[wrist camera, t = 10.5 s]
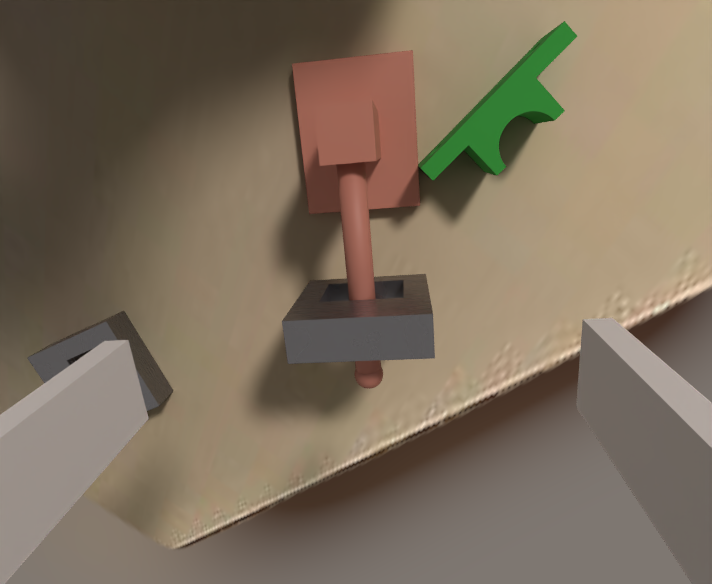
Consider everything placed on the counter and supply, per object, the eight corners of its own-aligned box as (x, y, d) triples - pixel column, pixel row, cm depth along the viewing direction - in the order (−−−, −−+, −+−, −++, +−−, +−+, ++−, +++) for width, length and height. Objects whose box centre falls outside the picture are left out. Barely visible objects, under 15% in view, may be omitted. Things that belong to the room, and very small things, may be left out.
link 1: (48, 345, 40) (27, 357, 38) (123, 310, 39) (105, 321, 36) (99, 420, 42) (82, 437, 40) (173, 390, 41) (159, 405, 38)
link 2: (310, 280, 33) (281, 321, 25) (425, 274, 32) (432, 313, 24) (314, 314, 33) (287, 363, 26) (427, 308, 32) (434, 358, 25)
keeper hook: (295, 66, 32) (255, 34, 23) (412, 53, 31) (418, 15, 22) (326, 340, 38) (304, 400, 29) (425, 335, 37) (434, 396, 28)
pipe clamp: (452, 202, 34) (460, 210, 30) (417, 165, 34) (419, 168, 29) (578, 80, 31) (607, 70, 27) (541, 37, 31) (565, 20, 26)
